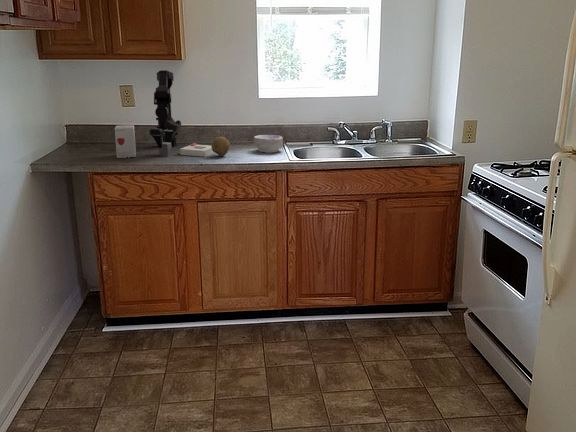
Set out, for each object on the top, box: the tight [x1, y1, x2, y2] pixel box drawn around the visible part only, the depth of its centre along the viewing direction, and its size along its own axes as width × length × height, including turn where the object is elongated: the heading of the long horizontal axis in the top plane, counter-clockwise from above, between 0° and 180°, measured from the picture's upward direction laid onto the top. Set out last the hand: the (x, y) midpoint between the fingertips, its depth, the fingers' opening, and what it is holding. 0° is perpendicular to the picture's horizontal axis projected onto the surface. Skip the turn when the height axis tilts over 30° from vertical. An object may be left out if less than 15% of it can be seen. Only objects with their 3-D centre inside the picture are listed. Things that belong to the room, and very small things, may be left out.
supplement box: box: [114, 124, 137, 159], centre depth 276 cm, size 9×9×15 cm
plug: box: [158, 141, 173, 157], centre depth 280 cm, size 5×4×6 cm
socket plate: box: [179, 142, 216, 157], centre depth 287 cm, size 14×14×4 cm
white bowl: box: [253, 134, 284, 154], centre depth 293 cm, size 15×15×8 cm
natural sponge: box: [211, 136, 231, 157], centre depth 279 cm, size 9×9×10 cm
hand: (165, 146), depth 280 cm, fingers open, 9 cm apart
